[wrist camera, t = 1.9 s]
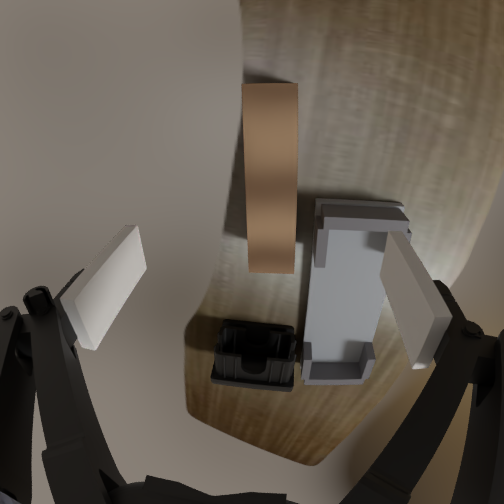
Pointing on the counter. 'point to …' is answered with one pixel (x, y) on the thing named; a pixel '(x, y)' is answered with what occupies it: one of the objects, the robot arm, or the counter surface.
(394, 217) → the holder
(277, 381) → the end cap
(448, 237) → the counter surface
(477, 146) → the counter surface
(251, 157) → the wooden block
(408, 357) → the robot arm
